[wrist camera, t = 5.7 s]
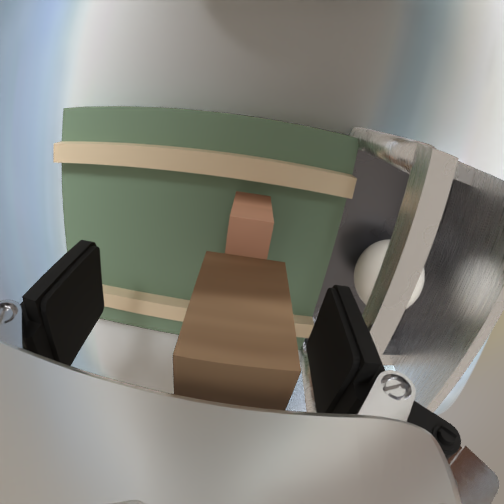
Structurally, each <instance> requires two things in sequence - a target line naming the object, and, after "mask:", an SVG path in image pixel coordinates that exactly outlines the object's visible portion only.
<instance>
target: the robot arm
mask: <svg viewBox="0 0 504 504" xmlns="http://www.w3.org/2000/svg"><path fill="white" fill-rule="evenodd" d="M22 298H23V302H22V303H21V304H19V303H18V302H16V301H13V300H2V301H0V504H491V502H492V501H493V499H494V497H495V495H496V494H497V491H498V489H499V480H498V477H497V475H496V474H495V473H494V472H493V471H492V470H491V469H490V468H489V467H488V466H487V465H486V464H485V463H484V462H483V461H481V460H480V459H479V458H478V457H477V456H476V455H475V454H474V453H473V452H472V451H471V450H470V449H469V448H468V447H467V446H464V447H463V448H462V447H461V446H460V444H461V439H460V435H459V433H458V431H457V430H456V429H455V427H453V426H452V425H451V424H450V423H448V422H447V421H445V420H443V419H442V418H440V417H439V416H437V415H436V414H434V413H433V412H431V411H430V410H428V409H427V408H425V407H423V406H422V405H420V404H419V403H417V402H416V401H414V399H415V394H416V390H415V386H414V385H413V383H412V381H411V380H410V379H409V378H408V377H407V376H405V375H404V374H402V373H400V372H397V371H392V370H388V371H385V369H384V366H383V364H382V361H381V359H380V356H379V354H378V351H377V349H376V346H375V344H374V341H373V339H372V336H371V334H370V332H369V329H368V327H367V325H366V324H365V321H364V319H363V317H362V314H361V312H360V310H359V307H358V305H357V303H356V300H355V298H354V296H353V293H352V291H351V289H350V287H348V286H341V285H334V286H333V287H332V288H328V289H327V292H326V294H325V297H324V300H323V302H322V305H321V308H320V310H319V313H318V316H317V318H316V321H315V324H314V326H313V329H312V331H311V334H310V336H309V339H308V342H307V355H308V361H309V367H310V374H311V380H312V386H313V393H314V399H315V406H316V413H314V412H299V411H286V410H274V409H264V408H255V407H247V406H239V405H232V404H225V403H219V402H213V401H206V400H201V399H195V398H190V397H185V396H180V395H175V394H170V393H165V392H161V391H156V390H152V389H148V388H144V387H140V386H136V385H132V384H128V383H124V382H121V381H117V380H113V379H110V378H106V377H103V376H100V375H96V374H93V373H90V372H87V371H84V370H80V369H77V368H74V367H72V366H71V364H72V362H73V361H74V359H75V357H76V355H77V354H78V352H79V350H80V349H81V347H82V345H83V344H84V342H85V340H86V339H87V337H88V335H89V334H90V332H91V330H92V329H93V327H94V326H95V324H96V322H97V321H98V319H99V318H100V316H101V314H102V313H103V310H104V296H103V286H102V274H101V259H100V248H99V247H97V246H96V243H95V242H91V241H86V240H80V241H79V242H78V243H77V244H76V245H75V246H73V247H72V248H71V249H70V250H69V251H68V252H67V253H66V254H65V255H64V256H63V257H62V258H61V259H59V260H58V261H57V262H56V263H55V264H54V265H53V266H52V267H51V268H50V269H49V270H48V271H47V272H46V273H45V274H44V275H43V276H42V277H41V278H40V279H39V280H38V281H37V282H36V283H35V284H34V285H33V286H32V287H31V288H30V289H29V290H28V291H27V292H26V293H25V295H24V296H23V297H22Z"/></svg>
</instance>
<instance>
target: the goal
mask: <svg viewBox="0 0 504 504" xmlns="http://www.w3.org/2000/svg"><path fill="white" fill-rule="evenodd" d="M349 136H352V137H355V138H358V145H359V147H358V152H357V156H356V161H355V165H354V169H353V174H352V175H353V176H354V177H356V178H357V181H356V185H355V189H354V193H353V197H352V199H350V198H347V199H346V203H345V206H344V210H343V214H342V218H341V222H340V226H339V229H338V233H337V237H336V240H335V244H334V247H333V251H332V254H331V258H330V261H329V265H328V268H327V271H326V275H325V278H324V281H323V285H322V288H321V291H320V294H319V297H318V301H317V304H316V307H315V310H314V313H313V316H312V317H313V322H314V324H315V321H316V318H317V316H318V313H319V310H320V308H321V305H322V302H323V300H324V297H325V294H326V292H327V289H328V288H332V287H333V286H334V285H341V286H348V287H350V289H351V291H352V293H353V296H354V298H355V300H356V303H357V305H358V307H359V310H360V312H361V314H362V317H363V319H364V321H365V324H366V325H367V327H368V329H369V332H370V334H371V336H372V339H373V341H374V344H375V346H376V349H377V351H378V354H379V356H380V359H381V361H382V364H383V365H394V367H395V369H396V371H397V372H400V373H402V374H404V375H405V376H407V377H408V378H409V379H410V380H411V381H412V383H413V385H414V386H415V390H416V394H415V399H414V401H416V402H417V403H419V404H420V405H422V406H423V407H425V408H427V409H428V410H430V411H431V412H434V411H435V410H436V409H437V408H438V406H439V405H440V404H441V403H442V401H443V400H444V399H445V398H446V396H447V395H448V394H449V393H450V391H451V390H452V389H453V387H454V386H455V385H456V383H457V382H458V381H459V379H460V378H461V377H462V375H463V374H464V372H465V371H466V370H467V368H468V367H469V365H470V364H471V362H472V361H473V359H474V358H475V356H476V355H477V353H478V352H479V350H480V349H481V347H482V346H483V344H484V342H485V341H486V339H487V338H488V336H489V334H490V333H491V331H492V329H493V327H494V326H495V324H496V322H497V320H498V318H499V317H500V315H501V313H502V311H503V309H504V181H503V180H501V179H499V178H497V177H494V176H492V175H490V174H487V173H485V172H483V171H480V170H478V169H475V168H473V167H471V166H468V165H466V164H464V163H461V162H459V161H458V158H457V157H455V156H452V155H450V154H447V153H445V152H442V151H439V150H437V149H436V148H435V147H434V146H432V145H429V144H426V143H423V142H419V141H415V140H412V139H408V138H404V137H400V136H396V135H392V134H388V133H384V132H380V131H375V130H371V129H366V128H362V127H357V128H355V127H353V130H352V131H351V133H350V135H349ZM386 239H390V242H389V245H388V248H387V251H386V254H385V257H384V260H383V263H382V266H381V268H380V271H379V274H378V276H377V279H376V282H375V284H374V287H373V290H372V292H371V295H370V297H369V300H368V302H367V305H365V304H364V303H363V301H362V300H361V299H360V297H359V296H358V294H357V291H356V288H355V284H354V270H355V266H356V263H357V261H358V259H359V257H360V255H361V254H362V253H363V251H364V250H365V249H366V248H368V247H369V246H370V245H372V244H374V243H375V242H378V241H381V240H386ZM423 267H424V272H425V280H424V285H423V289H422V291H421V294H420V295H419V297H418V299H417V300H416V301H415V302H414V303H413V304H412V305H411V306H410V307H408V308H407V309H406V307H407V305H408V302H409V300H410V298H411V296H412V293H413V291H414V289H415V287H416V284H417V282H418V280H419V277H420V275H421V272H422V270H423ZM308 339H309V338H305V340H304V343H303V346H302V347H301V348H300V350H298V353H299V360H300V364H301V371H302V378H303V386H304V394H305V402H306V410H307V412H314V413H316V406H315V399H314V393H313V386H312V380H311V374H310V367H309V361H308V355H307V342H308Z"/></svg>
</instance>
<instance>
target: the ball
mask: <svg viewBox="0 0 504 504" xmlns="http://www.w3.org/2000/svg"><path fill="white" fill-rule="evenodd" d="M389 242H390V239H386V240H381V241H378V242H375V243H374V244H372V245H370V246H369V247H368V248H366V249H365V250H364V251H363V253H362V254H361V255H360V257H359V259H358V261H357V263H356V266H355V270H354V284H355V288H356V291H357V294H358V296H359V297H360V299H361V300H362V301H363V303H364V304H365V305H367V302H368V300H369V297H370V295H371V292H372V290H373V287H374V284H375V282H376V279H377V276H378V274H379V271H380V268H381V266H382V263H383V260H384V257H385V254H386V251H387V248H388V245H389ZM424 280H425V272H424V267H423V270H422V272H421V275H420V277H419V280H418V282H417V284H416V287H415V289H414V291H413V293H412V296H411V298H410V300H409V302H408V305H407V307H406V309H407V308H408V307H410V306H411V305H412V304H413V303H414V302H415V301H416V300H417V299H418V297H419V295H420V294H421V291H422V289H423V285H424Z"/></svg>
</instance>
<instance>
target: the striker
mask: <svg viewBox="0 0 504 504" xmlns="http://www.w3.org/2000/svg"><path fill="white" fill-rule="evenodd" d="M273 226H274V218H273V211H272V203H271V196H266V195H259V194H253V193H246V192H239V191H236V194H235V198H234V202H233V206H232V209H231V213H230V218H229V225H228V233H227V241H226V248H225V253H218V252H212V251H206V254H205V257H204V260H203V263H202V266H201V269H200V271H199V274H198V277H197V280H196V284H195V287H194V290H193V293H192V296H191V299H190V302H189V305H188V308H187V311H186V314H185V318H184V321H183V324H182V327H181V330H180V333H179V337H178V340H177V343H176V346H175V350H174V353H173V376H174V394H175V395H180V396H185V397H190V398H195V399H201V400H206V401H213V402H219V403H225V404H232V405H239V406H247V407H255V408H264V409H274V410H285V409H286V407H287V405H288V402H289V400H290V397H291V395H292V393H293V390H294V388H295V385H296V383H297V380H298V378H299V375H300V373H301V368H300V360H299V353H298V345H297V338H296V331H295V324H294V317H293V311H292V304H291V297H290V291H289V284H288V278H287V271H286V265H285V262H280V261H273V260H267V257H268V252H269V246H270V241H271V236H272V231H273Z"/></svg>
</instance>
